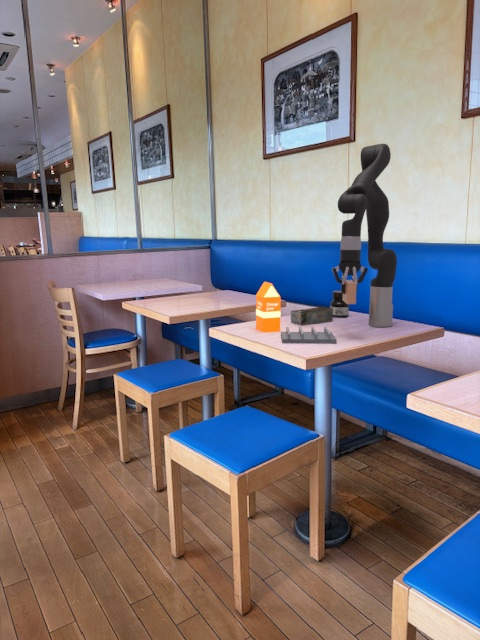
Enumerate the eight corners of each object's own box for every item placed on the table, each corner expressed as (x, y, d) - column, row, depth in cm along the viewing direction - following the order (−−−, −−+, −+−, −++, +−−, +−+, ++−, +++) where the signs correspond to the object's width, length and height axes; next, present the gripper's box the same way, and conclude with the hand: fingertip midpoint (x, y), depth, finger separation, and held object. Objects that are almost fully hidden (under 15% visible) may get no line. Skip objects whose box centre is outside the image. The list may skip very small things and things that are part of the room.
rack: (331, 335, 191) (331, 327, 190) (336, 343, 178) (336, 334, 178) (280, 335, 192) (281, 326, 191) (282, 343, 179) (282, 334, 178)
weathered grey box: (289, 323, 217) (289, 309, 215) (321, 319, 227) (322, 305, 225) (300, 326, 210) (301, 311, 209) (333, 321, 220) (334, 307, 219)
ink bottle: (327, 317, 229) (328, 292, 227) (329, 314, 238) (330, 290, 235) (348, 318, 227) (349, 293, 225) (349, 315, 235) (350, 290, 233)
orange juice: (272, 327, 208) (272, 281, 204) (280, 331, 199) (281, 283, 196) (255, 328, 205) (255, 281, 201) (263, 332, 197) (263, 284, 193)
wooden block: (350, 300, 189) (351, 280, 188) (355, 304, 180) (356, 282, 178) (342, 300, 189) (343, 279, 188) (347, 304, 180) (348, 282, 178)
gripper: (367, 248, 185) (365, 292, 188) (330, 248, 185) (328, 292, 189) (371, 249, 177) (369, 295, 181) (333, 249, 178) (331, 295, 181)
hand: (348, 293), depth 185 cm, fingers closed on wooden block, 3 cm apart
